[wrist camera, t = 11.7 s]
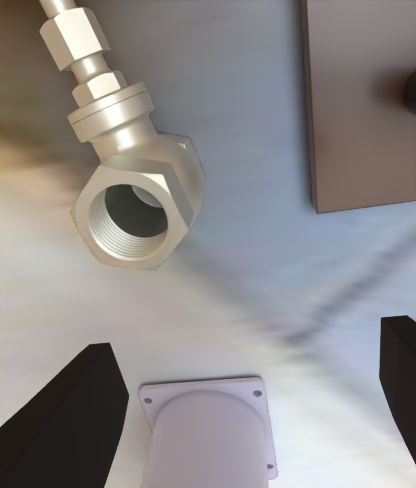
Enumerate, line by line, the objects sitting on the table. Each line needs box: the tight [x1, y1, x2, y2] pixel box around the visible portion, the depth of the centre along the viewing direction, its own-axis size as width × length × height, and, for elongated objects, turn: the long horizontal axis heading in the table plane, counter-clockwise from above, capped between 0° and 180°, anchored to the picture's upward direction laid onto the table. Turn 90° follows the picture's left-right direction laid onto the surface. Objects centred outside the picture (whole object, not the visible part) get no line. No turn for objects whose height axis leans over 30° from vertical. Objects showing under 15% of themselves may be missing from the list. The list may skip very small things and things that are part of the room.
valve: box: [39, 0, 205, 271], centre depth 13 cm, size 7×7×12 cm
